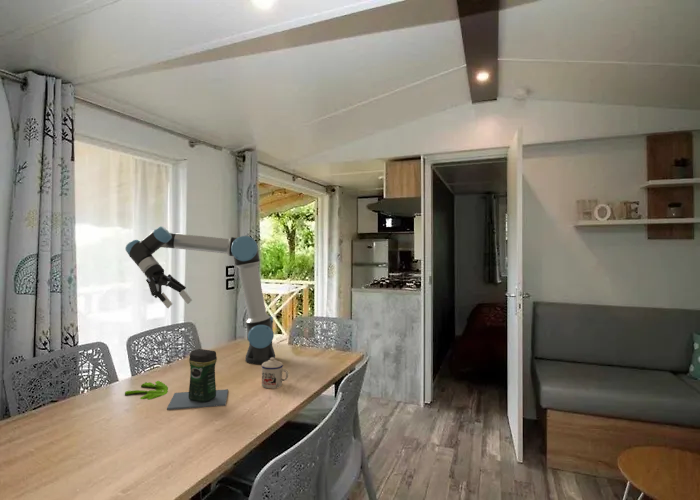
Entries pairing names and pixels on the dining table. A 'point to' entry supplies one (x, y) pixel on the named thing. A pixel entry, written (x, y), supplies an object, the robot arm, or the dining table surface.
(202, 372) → the coffee jar
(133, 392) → the cloth
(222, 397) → the mat
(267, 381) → the teacup with lid
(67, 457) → the dining table surface
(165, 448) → the dining table surface
